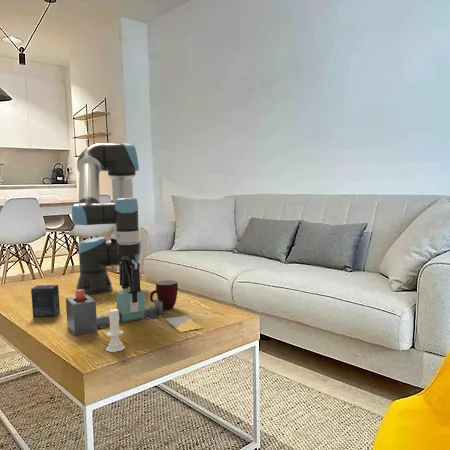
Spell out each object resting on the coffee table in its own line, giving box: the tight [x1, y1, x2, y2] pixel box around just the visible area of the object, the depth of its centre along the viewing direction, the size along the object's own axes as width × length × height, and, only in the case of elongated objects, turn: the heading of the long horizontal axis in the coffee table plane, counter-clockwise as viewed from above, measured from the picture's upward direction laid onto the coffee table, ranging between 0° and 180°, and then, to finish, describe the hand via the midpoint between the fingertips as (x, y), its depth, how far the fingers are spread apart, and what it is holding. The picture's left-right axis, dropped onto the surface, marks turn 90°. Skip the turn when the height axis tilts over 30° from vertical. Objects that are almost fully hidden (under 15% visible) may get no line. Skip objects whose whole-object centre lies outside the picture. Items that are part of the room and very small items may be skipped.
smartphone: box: [164, 314, 192, 328], centre depth 147 cm, size 8×1×15 cm
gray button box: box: [65, 294, 98, 336], centre depth 143 cm, size 10×7×10 cm
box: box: [30, 284, 61, 318], centre depth 160 cm, size 8×6×11 cm
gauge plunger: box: [75, 289, 86, 302], centre depth 143 cm, size 3×3×4 cm
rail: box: [96, 299, 164, 330], centre depth 152 cm, size 6×24×5 cm, turn 123°
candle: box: [105, 308, 126, 353], centre depth 126 cm, size 5×5×12 cm
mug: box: [149, 279, 179, 311], centre depth 164 cm, size 10×8×10 cm
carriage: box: [115, 289, 146, 321], centre depth 152 cm, size 6×8×9 cm
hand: (130, 308), depth 152 cm, fingers closed on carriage, 6 cm apart
